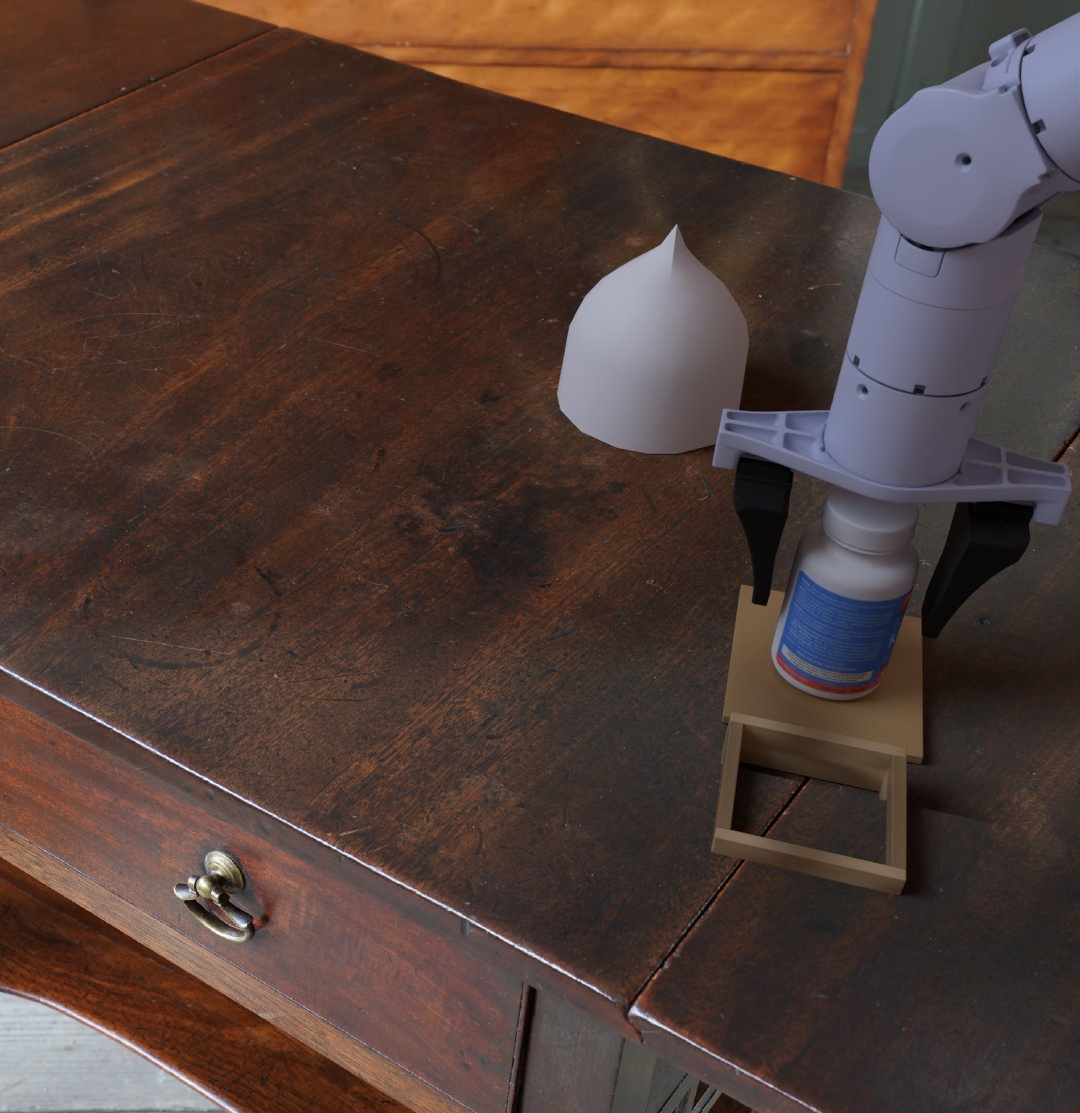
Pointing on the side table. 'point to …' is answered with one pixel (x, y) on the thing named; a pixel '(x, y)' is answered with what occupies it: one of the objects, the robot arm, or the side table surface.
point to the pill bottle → (847, 596)
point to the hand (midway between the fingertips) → (843, 607)
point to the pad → (769, 696)
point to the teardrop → (655, 354)
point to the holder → (819, 760)
